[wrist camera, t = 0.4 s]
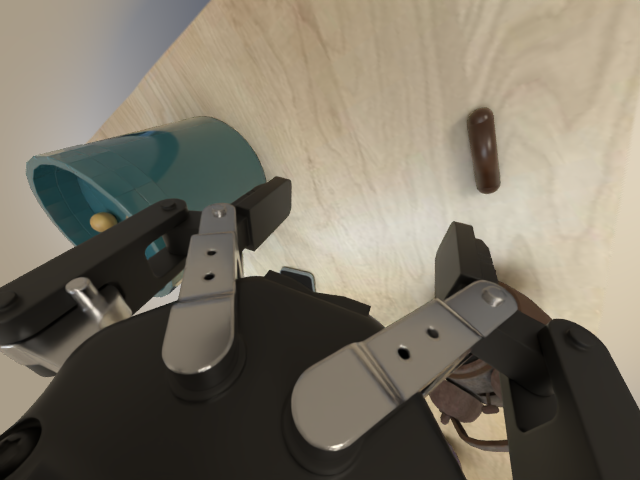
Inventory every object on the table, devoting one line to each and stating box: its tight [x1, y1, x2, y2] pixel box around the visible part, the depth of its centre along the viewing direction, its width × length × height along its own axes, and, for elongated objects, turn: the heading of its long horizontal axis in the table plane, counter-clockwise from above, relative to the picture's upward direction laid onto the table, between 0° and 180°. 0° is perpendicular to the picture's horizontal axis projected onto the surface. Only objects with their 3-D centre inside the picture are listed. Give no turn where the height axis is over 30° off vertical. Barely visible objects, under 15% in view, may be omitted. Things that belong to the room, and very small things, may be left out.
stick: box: [467, 108, 500, 194], centre depth 25 cm, size 9×2×2 cm, turn 26°
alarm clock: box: [429, 270, 552, 452], centre depth 29 cm, size 15×7×20 cm, turn 151°
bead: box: [90, 212, 117, 232], centre depth 31 cm, size 3×3×3 cm
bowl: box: [26, 116, 266, 297], centre depth 35 cm, size 19×19×20 cm
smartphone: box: [280, 267, 315, 292], centre depth 53 cm, size 7×1×15 cm
